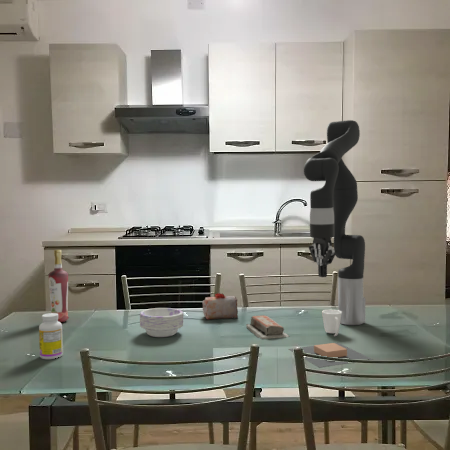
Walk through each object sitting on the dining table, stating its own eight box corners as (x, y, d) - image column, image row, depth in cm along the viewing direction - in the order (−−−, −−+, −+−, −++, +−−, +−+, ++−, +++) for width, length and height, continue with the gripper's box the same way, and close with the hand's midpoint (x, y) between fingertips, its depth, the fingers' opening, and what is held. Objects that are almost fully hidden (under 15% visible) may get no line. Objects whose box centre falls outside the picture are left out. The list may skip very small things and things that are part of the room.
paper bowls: (191, 330, 178) (191, 309, 178) (169, 342, 164) (168, 318, 164) (155, 326, 184) (155, 305, 184) (131, 337, 171) (130, 314, 170)
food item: (204, 320, 193) (203, 295, 192) (202, 316, 201) (201, 291, 200) (238, 319, 195) (238, 294, 194) (235, 314, 203) (235, 290, 202)
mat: (338, 344, 160) (338, 342, 160) (373, 361, 143) (373, 359, 143) (288, 350, 154) (288, 349, 154) (319, 369, 137) (319, 367, 137)
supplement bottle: (43, 353, 153) (42, 312, 153) (65, 352, 154) (64, 311, 153) (37, 360, 147) (35, 317, 146) (59, 359, 147) (58, 317, 146)
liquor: (73, 320, 194) (71, 249, 192) (58, 325, 188) (56, 251, 186) (61, 318, 198) (59, 248, 196) (45, 322, 192) (43, 250, 190)
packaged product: (245, 315, 182) (270, 313, 185) (245, 328, 182) (271, 326, 185) (261, 327, 165) (289, 325, 167) (261, 342, 165) (289, 339, 168)
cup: (338, 331, 175) (338, 308, 175) (348, 339, 165) (348, 315, 165) (319, 332, 175) (319, 309, 174) (327, 340, 165) (327, 316, 164)
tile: (333, 342, 152) (347, 349, 146) (333, 349, 152) (347, 356, 146) (314, 345, 150) (326, 352, 143) (313, 352, 150) (326, 359, 144)
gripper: (344, 223, 151) (345, 279, 152) (320, 220, 163) (321, 272, 165) (323, 224, 148) (324, 281, 150) (300, 221, 160) (301, 274, 162)
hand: (322, 276), depth 157 cm, fingers closed
